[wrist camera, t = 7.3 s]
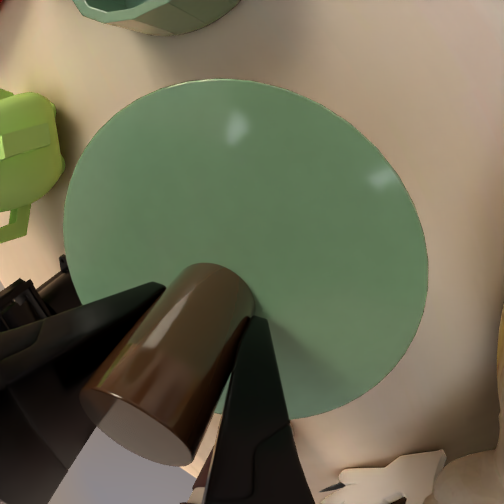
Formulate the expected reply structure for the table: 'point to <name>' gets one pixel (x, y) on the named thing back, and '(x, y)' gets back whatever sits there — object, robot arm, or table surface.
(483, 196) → the table surface
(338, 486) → the throwing knife
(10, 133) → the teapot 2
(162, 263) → the lid
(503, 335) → the decorative sphere
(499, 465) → the bust
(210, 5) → the canister
